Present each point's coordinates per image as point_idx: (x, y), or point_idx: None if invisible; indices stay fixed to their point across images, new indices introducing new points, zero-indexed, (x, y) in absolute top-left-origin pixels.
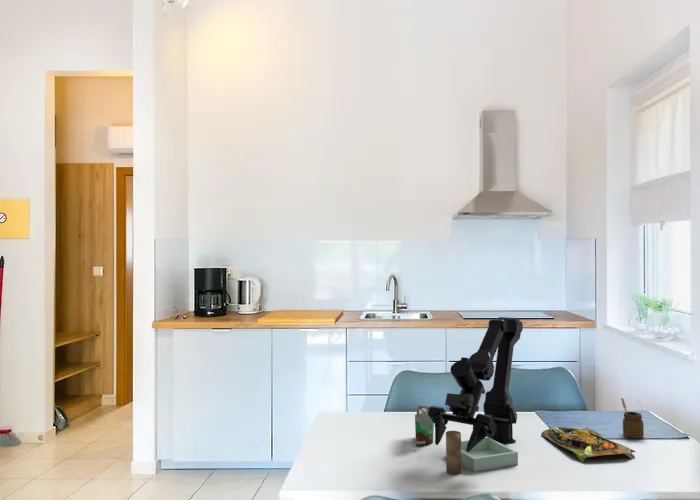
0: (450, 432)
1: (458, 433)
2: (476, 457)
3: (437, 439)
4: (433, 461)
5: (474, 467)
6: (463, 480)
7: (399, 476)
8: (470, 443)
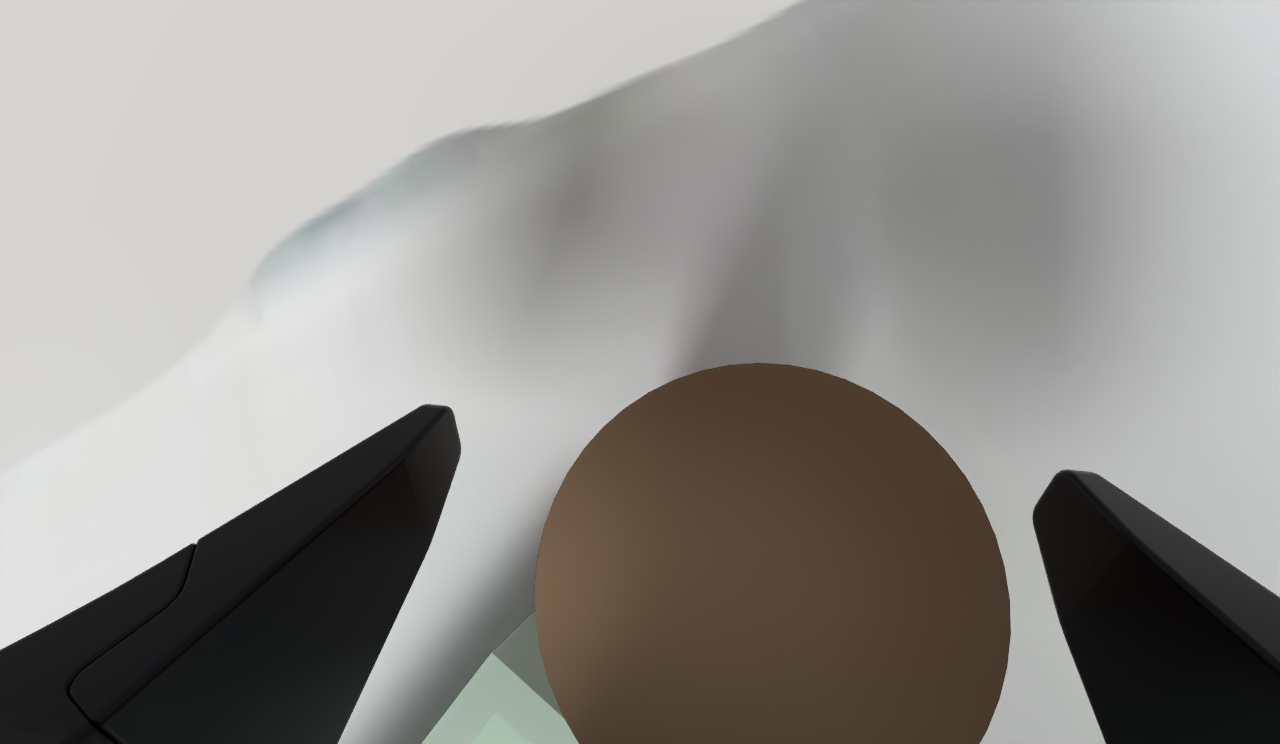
0: (861, 595)
1: (602, 614)
2: (478, 725)
3: (1110, 526)
4: (1045, 709)
5: (520, 624)
6: (562, 363)
7: (1111, 155)
8: (324, 465)
